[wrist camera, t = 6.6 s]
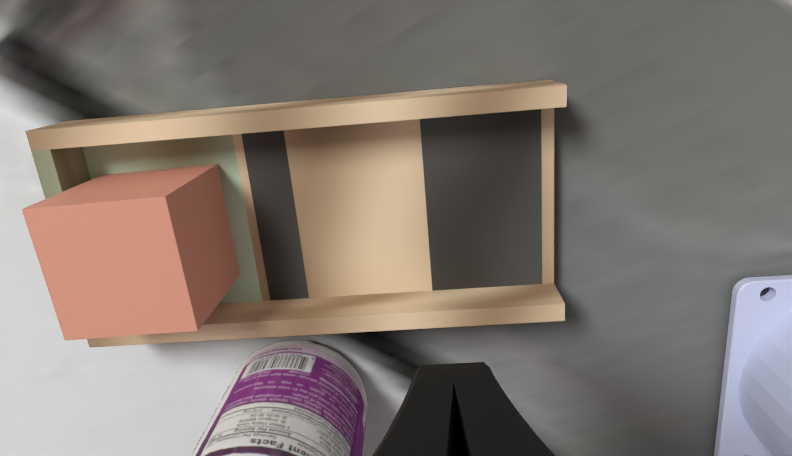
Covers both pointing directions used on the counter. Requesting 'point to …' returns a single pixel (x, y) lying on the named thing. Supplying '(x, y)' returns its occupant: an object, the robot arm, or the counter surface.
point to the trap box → (355, 205)
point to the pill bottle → (289, 405)
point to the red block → (136, 252)
